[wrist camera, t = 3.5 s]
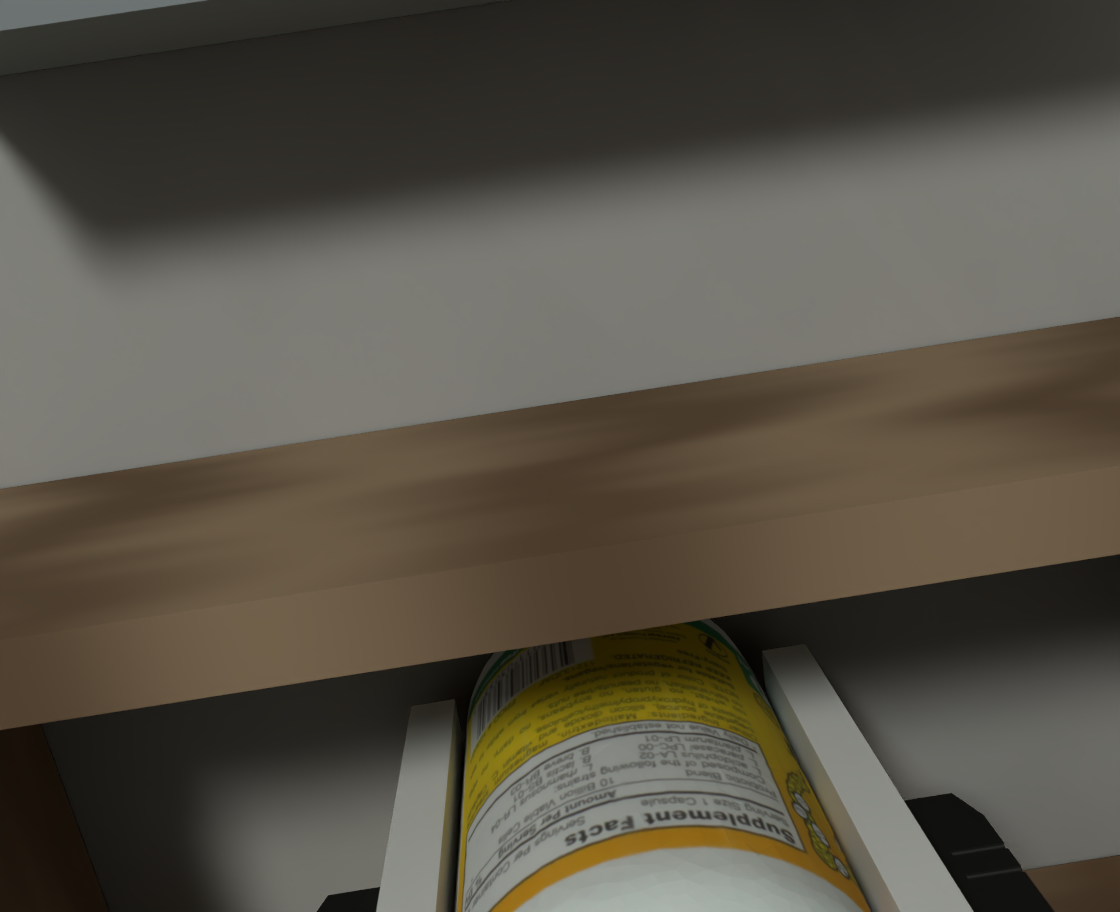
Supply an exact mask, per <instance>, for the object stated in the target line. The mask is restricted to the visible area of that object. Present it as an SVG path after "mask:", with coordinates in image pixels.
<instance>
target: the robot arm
mask: <svg viewBox="0 0 1120 912" xmlns="http://www.w3.org/2000/svg"><path fill="white" fill-rule="evenodd" d="M762 656H763V668H764V679H765V691H766V698H767V700H768V701H769V703H770V705H771V707H772V709H773V711H774V714H775V716H776V718H777V720H778V723H779V724H780V726H781V728H782V730H783V732H784V735H785V736H786V738H787V740H788V742H789V744H790V746H791V749H792V751H793V753H794V755H795V757H796V759H797V762H798V764H799V767H800V769H801V771H802V772H803V774H804V776H805V777H806V779H807V781H808V783H809V785H810V787H811V789H812V791H813V793H814V795H815V797H816V799H817V801H818V803H819V805H820V807H821V809H822V811H823V813H824V815H825V817H826V819H827V821H828V823H829V825H830V827H831V829H832V831H833V833H834V836H835V838H836V840H837V842H838V844H839V846H840V848H841V850H842V851H843V853H844V855H845V857H846V860H847V862H848V865H849V867H850V869H851V871H852V873H853V875H854V878H855V880H856V882H857V884H858V886H859V888H860V890H861V892H862V894H863V896H864V898H865V900H866V902H867V904H868V906H869V908H870V910H871V912H1055V911H1054V910H1053V909H1052V907H1051V906H1050V905H1049V903H1048V902H1047V901H1046V899H1045V898H1044V897H1043V895H1042V894H1041V892H1040V891H1039V890H1038V888H1037V887H1036V886H1035V884H1034V883H1033V882H1032V880H1031V879H1030V878H1029V876H1028V875H1027V873H1026V872H1023V871H1022V869H1021V865H1020V864H1019V863H1018V861H1017V860H1016V859H1015V857H1014V856H1013V854H1012V853H1011V852H1010V850H1009V849H1008V848H1005V846H1004V842H1003V841H1002V840H1001V838H1000V837H999V835H998V834H997V833H996V831H995V830H994V829H993V827H992V826H991V825H990V823H989V822H988V821H987V819H986V818H985V816H984V815H983V814H981V813H980V812H978V811H977V810H975V809H974V808H972V807H971V806H970V805H968V804H967V803H965V802H964V801H962V800H961V799H959V798H958V797H956V796H955V795H953V794H952V793H949V794H943V795H937V796H931V797H924V798H918V799H912V800H905V801H904V800H903V799H902V797H901V795H900V794H899V792H898V791H897V789H896V788H895V786H894V784H893V783H892V781H891V780H890V778H889V776H888V775H887V773H886V772H885V770H884V768H883V767H882V765H881V764H880V762H879V760H878V759H877V757H876V756H875V754H874V753H873V751H872V749H871V748H870V746H869V745H868V743H867V741H866V740H865V738H864V737H863V735H862V733H861V732H860V730H859V729H858V727H857V725H856V724H855V722H854V721H853V719H852V717H851V716H850V714H849V713H848V711H847V710H846V708H845V706H844V705H843V703H842V702H841V700H840V698H839V697H838V695H837V694H836V692H835V690H834V689H833V687H832V686H831V684H830V682H829V681H828V679H827V678H826V676H825V675H824V673H823V671H822V670H821V668H820V667H819V665H818V663H817V662H816V660H815V659H814V657H813V655H812V654H811V652H810V651H809V649H808V647H807V646H806V644H802V645H795V646H789V647H783V648H776V649H770V650H764V651H762ZM464 758H465V747H464V742H463V737H462V732H461V727H460V723H459V718H458V713H457V708H456V703H455V699H453V700H447V701H441V702H434V703H428V704H422V705H415V706H411V710H410V716H409V721H408V727H407V733H406V739H405V745H404V751H403V757H402V763H401V768H400V774H399V780H398V786H397V792H396V798H395V804H394V810H393V815H392V821H391V827H390V833H389V839H388V845H387V851H386V857H385V862H384V868H383V874H382V880H381V886H380V887H378V888H371V889H365V890H359V891H353V892H346V893H340V894H334V895H328V896H327V898H326V899H325V901H324V902H323V904H322V905H321V906H320V908H319V909H318V911H317V912H454V909H455V895H456V880H457V865H458V850H459V835H460V820H461V803H462V787H463V772H464Z"/></svg>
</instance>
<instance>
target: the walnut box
mask: <svg viewBox="0 0 1120 912" xmlns="http://www.w3.org/2000/svg"><path fill="white" fill-rule="evenodd" d="M1117 554H1120V317H1115V318H1109V319H1102V320H1096V321H1089V322H1083V323H1076V324H1070V325H1063V326H1057V327H1050V328H1044V329H1037V330H1031V331H1024V332H1018V333H1011V334H1005V335H998V336H992V337H985V338H979V339H972V340H966V341H959V342H953V343H946V344H940V345H933V346H927V347H920V348H914V349H907V350H901V351H894V352H888V353H881V354H875V355H868V356H862V357H855V358H849V359H842V360H836V361H829V362H823V363H816V364H810V365H803V366H797V367H790V368H784V369H777V370H771V371H764V372H758V373H751V374H745V375H738V376H732V377H725V378H719V379H712V380H706V381H699V382H693V383H686V384H680V385H673V386H667V387H660V388H654V389H647V390H641V391H634V392H628V393H621V394H615V395H608V396H602V397H595V398H589V399H582V400H576V401H569V402H563V403H556V404H550V405H543V406H537V407H530V408H524V409H517V410H511V411H504V412H498V413H491V414H485V415H478V416H472V417H465V418H459V419H452V420H446V421H439V422H433V423H426V424H420V425H413V426H407V427H400V428H394V429H387V430H381V431H374V432H368V433H361V434H355V435H348V436H342V437H335V438H329V439H322V440H316V441H309V442H303V443H296V444H290V445H283V446H277V447H270V448H264V449H257V450H251V451H244V452H238V453H231V454H225V455H218V456H212V457H205V458H199V459H192V460H186V461H179V462H173V463H166V464H160V465H153V466H147V467H140V468H134V469H127V470H121V471H114V472H108V473H101V474H95V475H88V476H82V477H75V478H69V479H62V480H56V481H49V482H43V483H36V484H30V485H23V486H17V487H10V488H4V489H0V912H109V911H108V908H107V905H106V902H105V900H104V897H103V894H102V891H101V889H100V886H99V883H98V880H97V878H96V875H95V872H94V870H93V867H92V864H91V861H90V859H89V856H88V853H87V850H86V848H85V845H84V842H83V840H82V837H81V834H80V831H79V829H78V826H77V823H76V820H75V818H74V815H73V812H72V809H71V807H70V804H69V801H68V799H67V796H66V793H65V790H64V788H63V785H62V782H61V779H60V777H59V774H58V771H57V769H56V766H55V763H54V760H53V758H52V755H51V752H50V749H49V747H48V744H47V741H46V738H45V736H44V733H43V730H42V728H41V725H40V724H41V723H48V722H54V721H60V720H67V719H73V718H80V717H86V716H92V715H99V714H105V713H111V712H118V711H124V710H130V709H137V708H143V707H150V706H156V705H162V704H169V703H175V702H181V701H188V700H194V699H200V698H207V697H213V696H220V695H226V694H232V693H239V692H245V691H251V690H258V689H264V688H271V687H277V686H283V685H290V684H296V683H302V682H309V681H315V680H321V679H328V678H334V677H341V676H347V675H353V674H360V673H366V672H372V671H379V670H385V669H391V668H398V667H404V666H411V665H417V664H423V663H430V662H436V661H442V660H449V659H455V658H462V657H468V656H474V655H481V654H487V653H493V652H500V651H506V650H512V649H519V648H525V647H532V646H538V645H544V644H551V643H557V642H563V641H570V640H576V639H582V638H589V637H595V636H602V635H608V634H614V633H621V632H627V631H633V630H640V629H646V628H652V627H659V626H665V625H672V624H678V623H684V622H691V621H697V620H703V619H710V618H716V617H723V616H729V615H735V614H742V613H748V612H754V611H761V610H767V609H773V608H780V607H786V606H793V605H799V604H805V603H812V602H818V601H824V600H831V599H837V598H843V597H850V596H856V595H863V594H869V593H875V592H882V591H888V590H894V589H901V588H907V587H914V586H920V585H926V584H933V583H939V582H945V581H952V580H958V579H964V578H971V577H977V576H984V575H990V574H996V573H1003V572H1009V571H1015V570H1022V569H1028V568H1034V567H1041V566H1047V565H1054V564H1060V563H1066V562H1073V561H1079V560H1085V559H1092V558H1098V557H1104V556H1111V555H1117ZM1023 872H1026V873H1027V875H1028V876H1029V878H1030V879H1031V880H1032V882H1033V883H1034V884H1035V886H1036V887H1037V888H1038V890H1039V891H1040V892H1041V894H1042V895H1043V897H1044V898H1045V899H1046V901H1047V902H1048V903H1049V905H1050V906H1051V907H1052V909H1053V910H1054V911H1055V912H1120V855H1117V856H1110V857H1104V858H1098V859H1092V860H1085V861H1079V862H1073V863H1067V864H1061V865H1054V866H1048V867H1042V868H1036V869H1030V870H1023Z"/></svg>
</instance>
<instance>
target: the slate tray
mask: <svg viewBox="0 0 1120 912" xmlns="http://www.w3.org/2000/svg"><path fill="white" fill-rule="evenodd" d="M501 1H508V0H0V76H2V75H9V74H16V73H22V72H29V71H36V70H43V69H49V68H56V67H63V66H70V65H76V64H83V63H90V62H97V61H103V60H110V59H117V58H124V57H130V56H137V55H144V54H150V53H157V52H164V51H171V50H177V49H184V48H191V47H198V46H204V45H211V44H218V43H225V42H231V41H238V40H245V39H252V38H258V37H265V36H272V35H279V34H285V33H292V32H299V31H305V30H312V29H319V28H326V27H332V26H339V25H346V24H353V23H359V22H366V21H373V20H380V19H386V18H393V17H400V16H407V15H413V14H420V13H427V12H433V11H440V10H447V9H454V8H460V7H467V6H474V5H481V4H487V3H494V2H501Z"/></svg>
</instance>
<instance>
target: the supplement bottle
mask: <svg viewBox="0 0 1120 912" xmlns="http://www.w3.org/2000/svg"><path fill="white" fill-rule="evenodd" d="M454 912H871V910H870V908H869V906H868V904H867V902H866V900H865V898H864V896H863V894H862V892H861V890H860V888H859V886H858V884H857V882H856V880H855V878H854V875H853V873H852V871H851V869H850V867H849V865H848V862H847V860H846V857H845V855H844V853H843V851H842V850H841V848H840V846H839V844H838V842H837V840H836V838H835V836H834V833H833V831H832V829H831V827H830V825H829V823H828V821H827V819H826V817H825V815H824V813H823V811H822V809H821V807H820V805H819V803H818V801H817V799H816V797H815V795H814V793H813V791H812V789H811V787H810V785H809V783H808V781H807V779H806V777H805V776H804V774H803V772H802V771H801V769H800V767H799V764H798V762H797V759H796V757H795V755H794V753H793V751H792V749H791V746H790V744H789V742H788V740H787V738H786V736H785V735H784V732H783V730H782V728H781V726H780V724H779V723H778V720H777V718H776V716H775V714H774V711H773V709H772V707H771V705H770V703H769V701H768V700H767V698H766V696H765V694H764V692H763V690H762V687H761V685H760V684H759V682H758V680H757V678H756V676H755V675H754V673H753V671H752V670H751V668H750V667H749V665H748V663H747V662H746V660H745V658H744V657H743V655H742V654H741V653H740V651H739V650H738V648H737V647H736V645H735V644H734V643H733V642H732V640H731V639H730V638H729V637H728V636H727V634H726V633H725V632H724V631H723V630H722V629H721V628H720V627H719V626H717V625H716V624H715V623H714V622H712V621H711V620H710V619H703V620H697V621H691V622H684V623H678V624H672V625H665V626H659V627H652V628H646V629H640V630H633V631H627V632H621V633H614V634H608V635H602V636H595V637H589V638H582V639H576V640H570V641H563V642H557V643H551V644H544V645H538V646H532V647H525V648H519V649H512V650H506V651H500V652H494V653H493V655H492V656H491V657H490V659H489V660H488V662H487V663H486V665H485V667H484V669H483V671H482V672H481V674H480V676H479V678H478V681H477V683H476V686H475V688H474V691H473V694H472V697H471V700H470V705H469V710H468V716H467V727H466V743H465V758H464V772H463V787H462V803H461V820H460V835H459V850H458V865H457V880H456V895H455V909H454Z"/></svg>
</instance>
